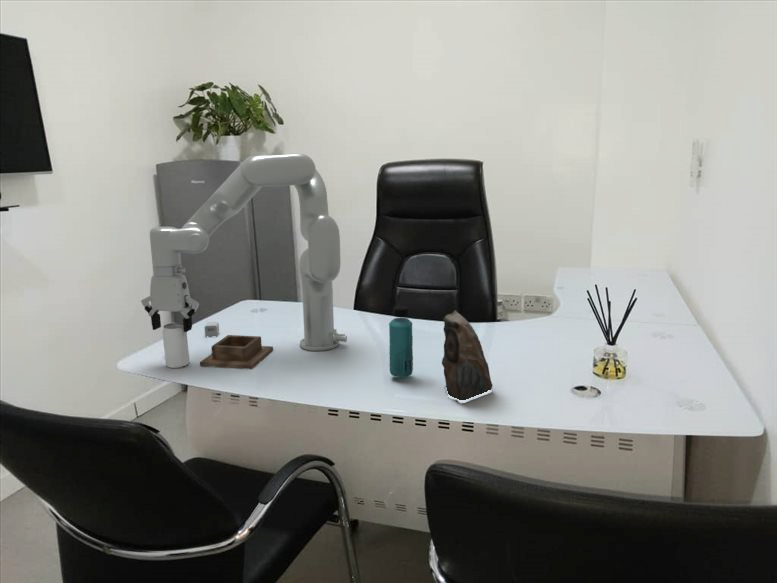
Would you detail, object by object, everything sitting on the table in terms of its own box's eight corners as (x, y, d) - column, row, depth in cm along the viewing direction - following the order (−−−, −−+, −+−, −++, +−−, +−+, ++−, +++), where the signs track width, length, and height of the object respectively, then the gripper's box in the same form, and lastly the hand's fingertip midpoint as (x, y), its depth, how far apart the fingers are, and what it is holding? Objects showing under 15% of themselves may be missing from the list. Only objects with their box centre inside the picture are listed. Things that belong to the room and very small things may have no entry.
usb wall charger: (205, 337, 183) (204, 325, 182) (208, 331, 190) (207, 320, 189) (217, 336, 184) (216, 325, 183) (220, 330, 191) (219, 319, 190)
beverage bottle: (405, 384, 143) (405, 311, 139) (384, 379, 147) (383, 308, 142) (417, 376, 149) (417, 305, 144) (396, 371, 152) (396, 302, 147)
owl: (460, 406, 130) (462, 327, 125) (424, 390, 140) (425, 315, 135) (495, 392, 138) (498, 317, 133) (458, 377, 147) (460, 306, 143)
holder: (273, 350, 170) (272, 334, 169) (252, 369, 155) (250, 351, 154) (225, 347, 173) (224, 332, 172) (200, 365, 158) (198, 348, 156)
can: (184, 368, 156) (180, 328, 153) (162, 368, 156) (157, 328, 153) (193, 360, 162) (189, 322, 159) (171, 360, 162) (167, 322, 159)
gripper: (202, 270, 154) (206, 327, 158) (147, 267, 157) (152, 324, 161) (189, 275, 147) (193, 335, 151) (131, 272, 150) (136, 331, 154)
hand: (172, 329), depth 156 cm, fingers open, 9 cm apart
